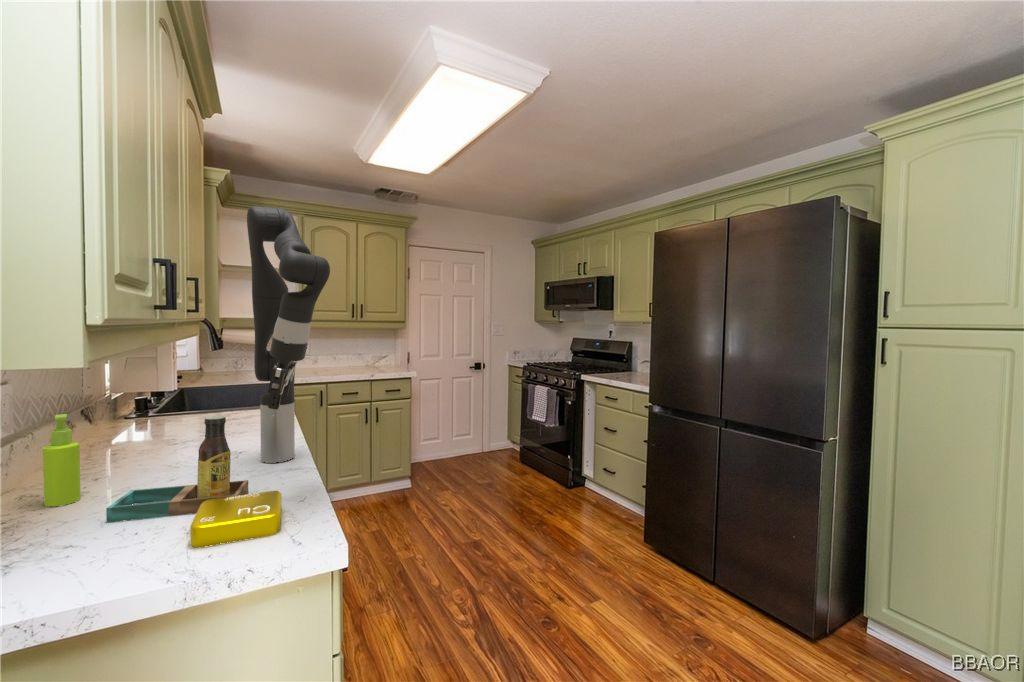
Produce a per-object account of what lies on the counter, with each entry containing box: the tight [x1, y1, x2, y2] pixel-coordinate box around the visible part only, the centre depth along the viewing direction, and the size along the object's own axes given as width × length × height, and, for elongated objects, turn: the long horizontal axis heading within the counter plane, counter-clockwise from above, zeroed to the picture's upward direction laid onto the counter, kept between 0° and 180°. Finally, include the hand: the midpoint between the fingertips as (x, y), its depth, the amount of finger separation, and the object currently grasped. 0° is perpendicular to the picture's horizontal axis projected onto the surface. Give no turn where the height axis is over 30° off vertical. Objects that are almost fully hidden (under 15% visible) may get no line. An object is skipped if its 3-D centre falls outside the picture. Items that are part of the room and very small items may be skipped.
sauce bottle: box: [197, 415, 231, 498], centre depth 103 cm, size 7×6×20 cm
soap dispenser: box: [42, 413, 82, 507], centre depth 103 cm, size 6×7×20 cm
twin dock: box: [105, 479, 249, 523], centre depth 101 cm, size 11×24×3 cm, turn 109°
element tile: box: [189, 490, 282, 549], centre depth 92 cm, size 15×15×5 cm
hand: (277, 402), depth 107 cm, fingers open, 8 cm apart
